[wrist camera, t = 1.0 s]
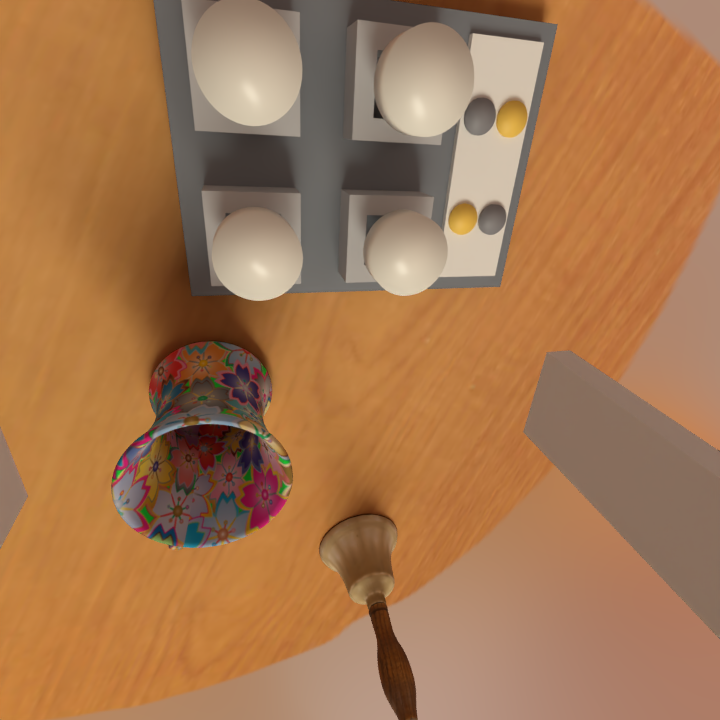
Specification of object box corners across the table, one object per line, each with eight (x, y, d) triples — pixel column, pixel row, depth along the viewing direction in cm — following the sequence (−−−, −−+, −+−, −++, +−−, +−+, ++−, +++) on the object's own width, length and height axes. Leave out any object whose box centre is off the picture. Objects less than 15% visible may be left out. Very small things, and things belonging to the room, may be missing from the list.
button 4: (358, 131, 24) (379, 134, 20) (364, 31, 22) (388, 15, 18) (433, 136, 25) (465, 139, 21) (445, 41, 23) (482, 28, 19)
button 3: (351, 275, 27) (368, 296, 24) (355, 201, 25) (374, 214, 22) (416, 274, 28) (441, 294, 25) (425, 203, 26) (453, 215, 23)
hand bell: (346, 580, 48) (392, 762, 34) (303, 545, 43) (336, 738, 30) (409, 540, 47) (481, 708, 34) (372, 500, 43) (438, 676, 29)
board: (193, 288, 29) (188, 309, 26) (153, -26, 21) (140, -51, 18) (490, 280, 34) (517, 297, 31) (542, 28, 27) (584, 16, 24)
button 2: (203, 121, 22) (198, 122, 18) (192, 10, 20) (184, -12, 16) (292, 127, 23) (302, 129, 19) (290, 22, 21) (302, 4, 17)
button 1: (218, 278, 25) (216, 302, 22) (210, 198, 23) (207, 211, 20) (293, 276, 26) (303, 299, 23) (292, 200, 24) (302, 213, 21)
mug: (165, 312, 29) (136, 399, 20) (294, 352, 33) (318, 440, 24) (121, 450, 33) (81, 574, 24) (241, 471, 37) (244, 584, 28)
